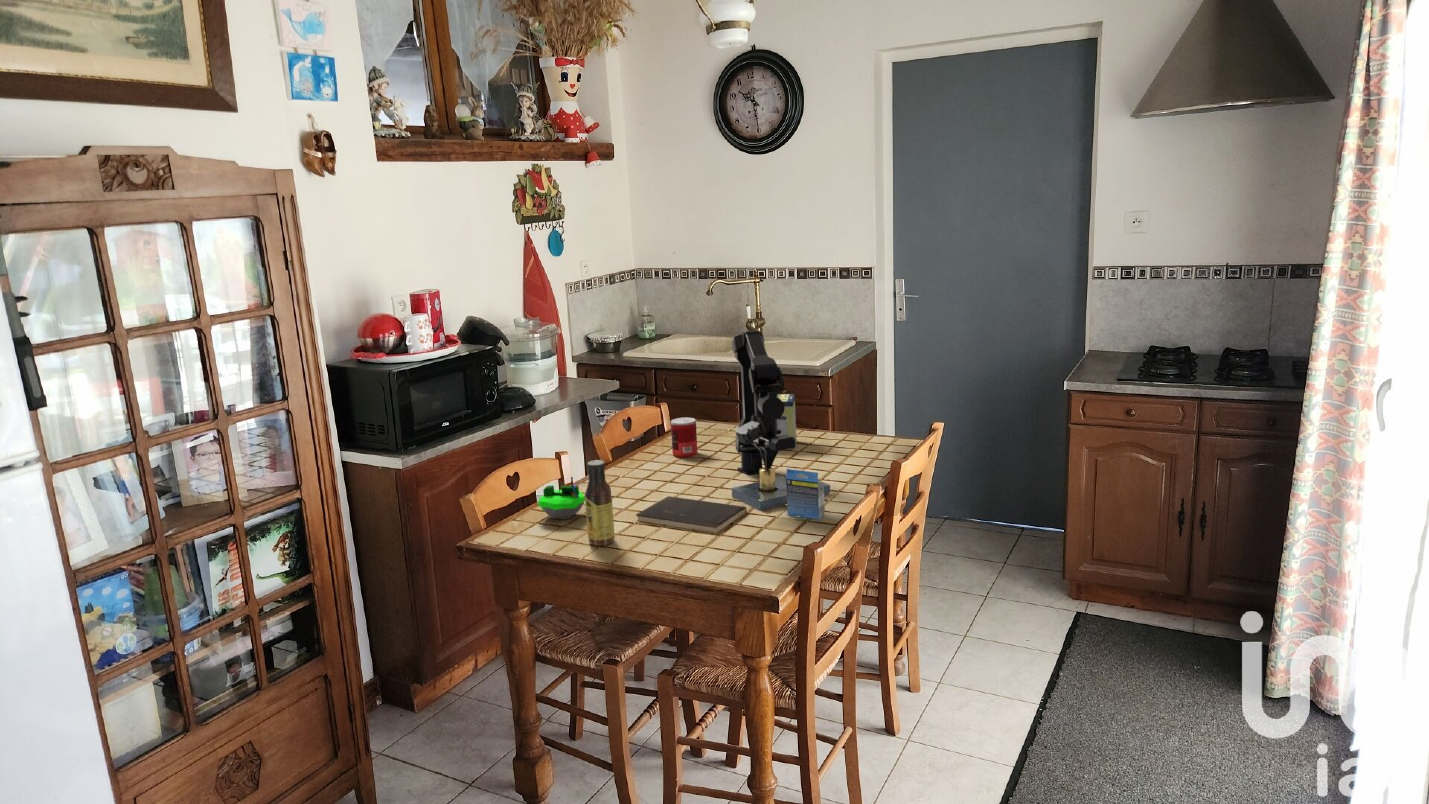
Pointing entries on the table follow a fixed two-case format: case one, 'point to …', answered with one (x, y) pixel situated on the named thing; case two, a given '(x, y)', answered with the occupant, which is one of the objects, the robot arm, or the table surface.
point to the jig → (767, 494)
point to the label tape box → (804, 495)
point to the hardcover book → (691, 514)
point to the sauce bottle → (599, 505)
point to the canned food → (684, 437)
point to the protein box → (787, 416)
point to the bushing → (767, 480)
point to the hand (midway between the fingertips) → (767, 468)
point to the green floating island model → (561, 501)
